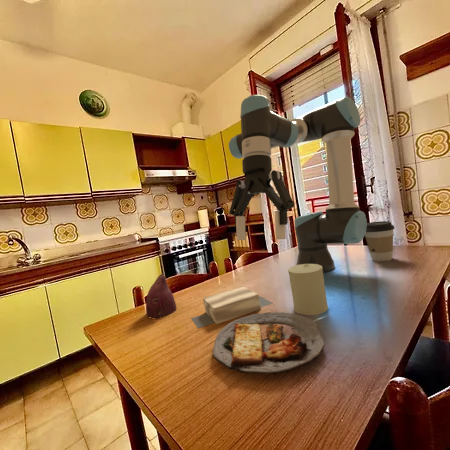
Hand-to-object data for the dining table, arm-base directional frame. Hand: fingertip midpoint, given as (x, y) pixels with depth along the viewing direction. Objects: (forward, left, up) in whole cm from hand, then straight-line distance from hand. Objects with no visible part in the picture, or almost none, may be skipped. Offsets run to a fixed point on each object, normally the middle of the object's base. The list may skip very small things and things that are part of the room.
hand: (259, 239), depth 66 cm
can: (0, +12, -22) cm, 25 cm away
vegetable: (-31, -25, -22) cm, 45 cm away
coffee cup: (-17, +63, -22) cm, 69 cm away
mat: (-14, -6, -22) cm, 27 cm away
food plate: (+8, -6, -22) cm, 25 cm away
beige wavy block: (-14, -6, -22) cm, 26 cm away
